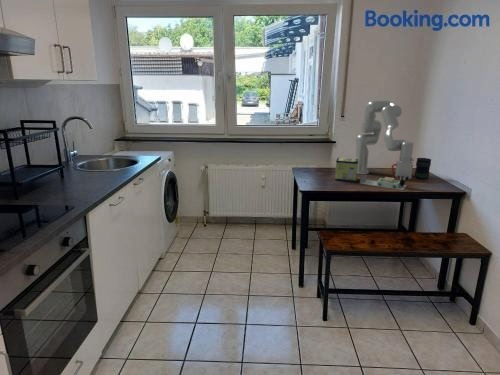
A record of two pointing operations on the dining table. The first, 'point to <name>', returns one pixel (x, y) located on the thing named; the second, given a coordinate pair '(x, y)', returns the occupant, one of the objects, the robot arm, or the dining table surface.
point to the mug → (394, 172)
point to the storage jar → (422, 168)
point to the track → (374, 183)
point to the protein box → (346, 169)
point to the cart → (394, 185)
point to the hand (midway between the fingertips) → (402, 185)
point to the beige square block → (389, 180)
